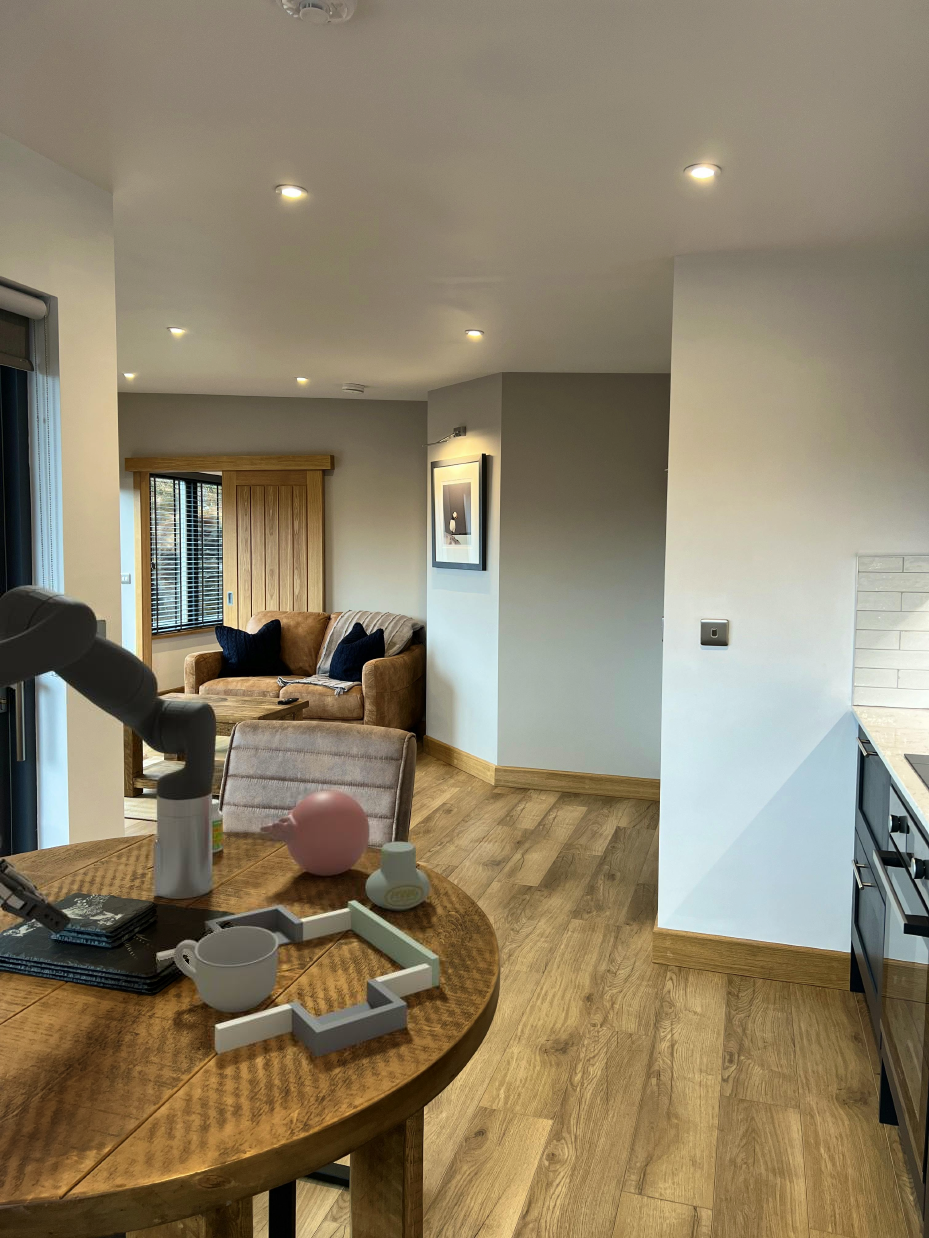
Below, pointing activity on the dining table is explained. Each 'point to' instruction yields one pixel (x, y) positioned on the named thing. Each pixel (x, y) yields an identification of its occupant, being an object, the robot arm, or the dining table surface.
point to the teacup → (232, 967)
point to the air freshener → (398, 879)
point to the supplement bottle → (217, 827)
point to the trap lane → (346, 1024)
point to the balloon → (324, 832)
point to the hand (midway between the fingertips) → (63, 925)
